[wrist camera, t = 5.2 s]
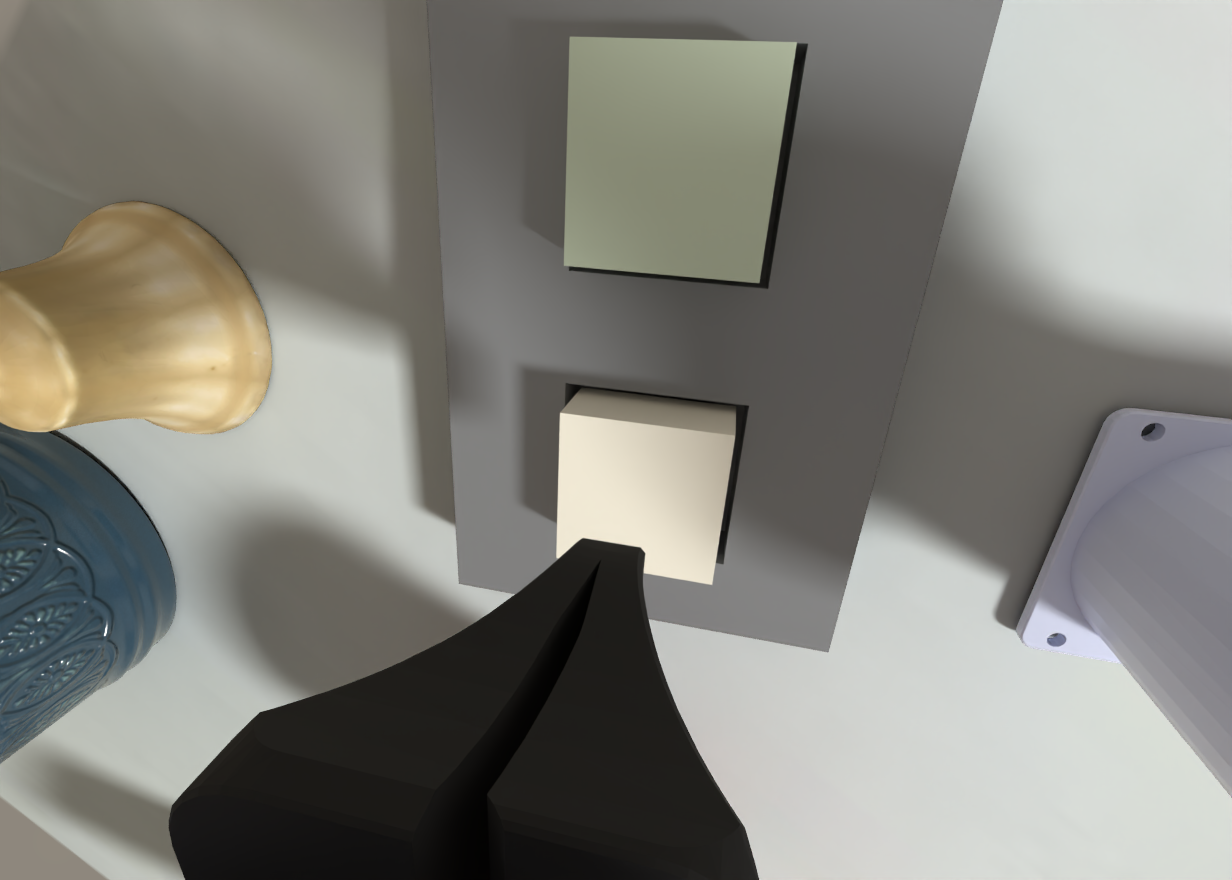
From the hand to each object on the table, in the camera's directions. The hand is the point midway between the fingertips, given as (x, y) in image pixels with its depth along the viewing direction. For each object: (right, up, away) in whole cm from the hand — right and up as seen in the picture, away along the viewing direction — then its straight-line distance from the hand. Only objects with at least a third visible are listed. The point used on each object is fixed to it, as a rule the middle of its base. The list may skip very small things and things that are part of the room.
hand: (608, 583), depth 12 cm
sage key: (+2, +10, +2) cm, 10 cm away
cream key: (+1, +2, +5) cm, 6 cm away
